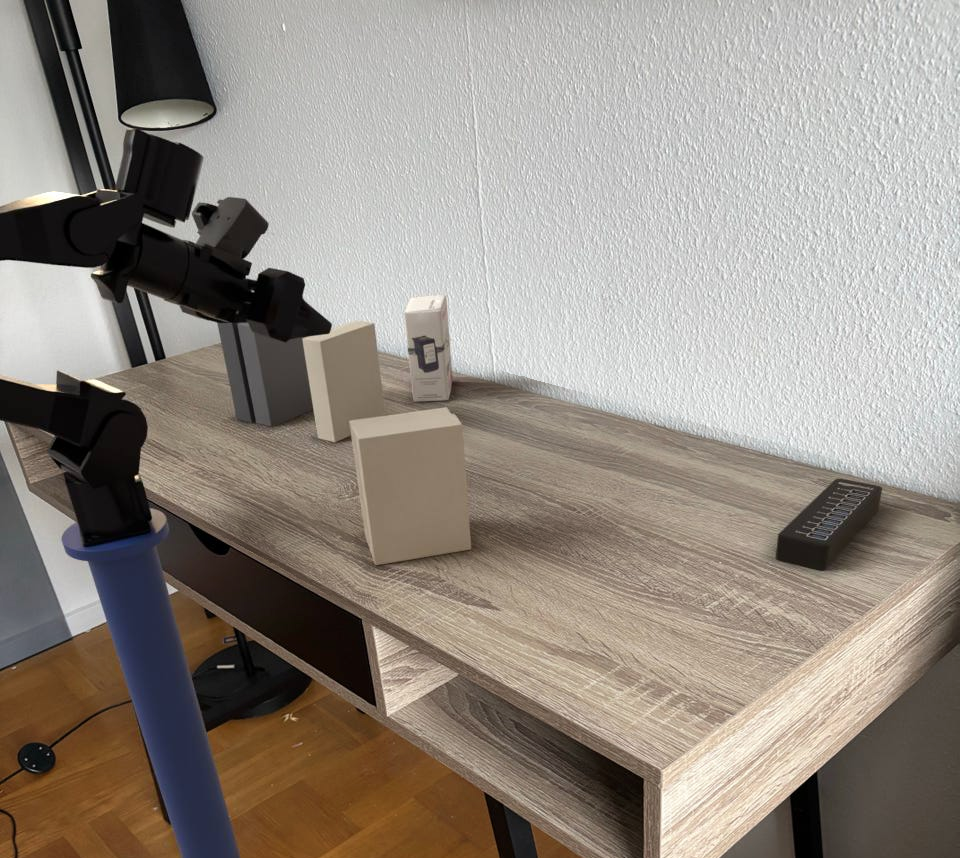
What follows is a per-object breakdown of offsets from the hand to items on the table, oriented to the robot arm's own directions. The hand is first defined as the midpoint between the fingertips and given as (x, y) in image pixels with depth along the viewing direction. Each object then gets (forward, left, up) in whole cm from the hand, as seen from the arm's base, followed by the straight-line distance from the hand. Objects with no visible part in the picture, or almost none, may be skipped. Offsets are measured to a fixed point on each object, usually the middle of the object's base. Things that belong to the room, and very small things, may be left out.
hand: (305, 322), depth 101 cm
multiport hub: (+35, -44, -16) cm, 58 cm away
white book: (+6, +8, -15) cm, 18 cm away
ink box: (+20, +16, -16) cm, 30 cm away
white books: (+1, -26, -15) cm, 30 cm away
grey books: (-1, +19, -15) cm, 25 cm away
